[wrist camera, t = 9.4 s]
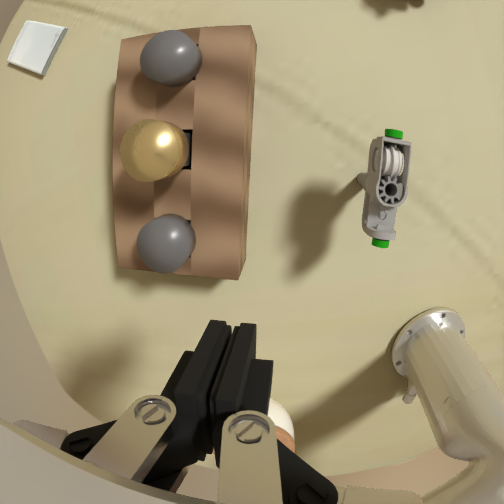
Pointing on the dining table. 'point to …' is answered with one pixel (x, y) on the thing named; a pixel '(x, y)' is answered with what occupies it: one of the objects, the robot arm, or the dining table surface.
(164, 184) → the knob panel
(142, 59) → the knob
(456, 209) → the dining table surface
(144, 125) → the knob middle
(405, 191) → the mechanical component
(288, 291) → the dining table surface
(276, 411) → the lidded bowl
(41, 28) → the hard drive
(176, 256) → the knob
